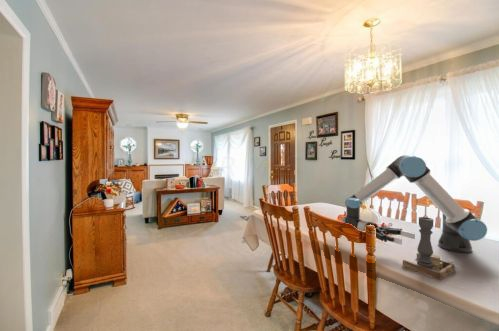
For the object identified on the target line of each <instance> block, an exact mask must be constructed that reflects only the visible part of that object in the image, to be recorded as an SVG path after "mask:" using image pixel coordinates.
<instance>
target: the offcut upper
mask: <svg viewBox="0 0 499 331" xmlns="http://www.w3.org/2000/svg"><path fill="white" fill-rule="evenodd" d="M430 259H431V260H432V263H435V264H440V260H441V256H440V254H434V253H433V254H432V256H431V257H430Z"/></svg>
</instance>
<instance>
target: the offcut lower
mask: <svg viewBox="0 0 499 331" xmlns="http://www.w3.org/2000/svg"><path fill="white" fill-rule="evenodd" d="M432 264H433V270H435V271H438V272H439V271H441V270H442V269H444V268H443V263H442V262H440V264H435V263H432Z"/></svg>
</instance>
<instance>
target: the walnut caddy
mask: <svg viewBox="0 0 499 331" xmlns="http://www.w3.org/2000/svg"><path fill="white" fill-rule="evenodd" d="M419 256H420V255H419V253H418V252H417V253H416V260H418V258H419ZM440 262H442V263H443V268H442V269H441V270H439V271H438V270H435V269H433V270H432V269H429V268H426V267H423V266H420V265H418V264H417V263H414V262H411V261H409V260H406V259H403V260H402V267H403V266H404V267H403V268H406V269H409V270H410V271H411V270H412V271H415V272H417V273H419V274H422V275H425V276H428V277H430V276H431V278H433V279H437V280H439V281H442V280H443V279H445V278H446V277H447V276H449V275H450V274H451V273H453V272H454V271H456V270H455V268H456V266H455V263H452V262H448V261H446V260H442V259H440Z"/></svg>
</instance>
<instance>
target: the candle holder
mask: <svg viewBox="0 0 499 331" xmlns="http://www.w3.org/2000/svg"><path fill="white" fill-rule="evenodd" d="M434 220H435V219H434V218H431V217H428V216H427V217H425V216H419V217H418V226H419V228H420V229H419V230H418V232H419V233H420V239H419V242H418V244H417V253H419V255H420V256H419V258H418V259H417V260H416V264H418V265H420V266H423V267H426V268H429V269H432V270H434V269H433V264H432V260H431V259H430V257H431V256H432V254H434V250H433V246H432V242H431V235H432V234H434V233H433V231H432V229H434V228H433V227H434Z"/></svg>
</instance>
